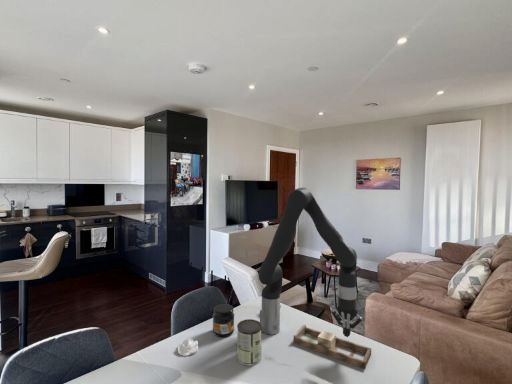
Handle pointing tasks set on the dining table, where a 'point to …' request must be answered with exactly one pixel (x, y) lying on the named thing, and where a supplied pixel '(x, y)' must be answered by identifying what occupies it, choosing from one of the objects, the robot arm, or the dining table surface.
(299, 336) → the track
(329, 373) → the dining table surface
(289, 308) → the dining table surface
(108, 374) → the dining table surface
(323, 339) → the oak block
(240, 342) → the coffee can
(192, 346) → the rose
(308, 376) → the dining table surface
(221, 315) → the supplement container
